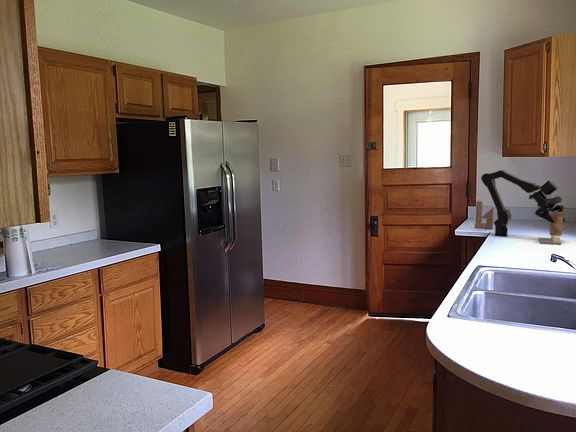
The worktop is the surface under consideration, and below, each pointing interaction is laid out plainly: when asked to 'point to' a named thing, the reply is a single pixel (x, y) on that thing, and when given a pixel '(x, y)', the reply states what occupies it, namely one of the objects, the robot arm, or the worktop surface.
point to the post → (556, 223)
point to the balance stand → (550, 240)
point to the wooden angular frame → (479, 216)
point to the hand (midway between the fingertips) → (558, 222)
